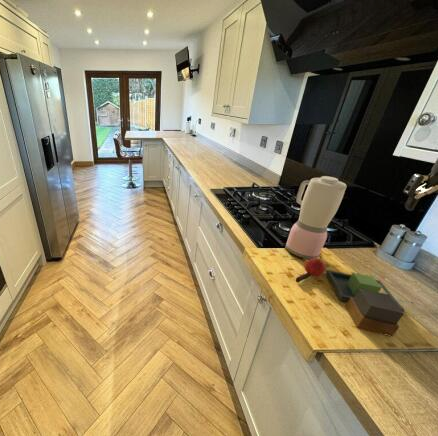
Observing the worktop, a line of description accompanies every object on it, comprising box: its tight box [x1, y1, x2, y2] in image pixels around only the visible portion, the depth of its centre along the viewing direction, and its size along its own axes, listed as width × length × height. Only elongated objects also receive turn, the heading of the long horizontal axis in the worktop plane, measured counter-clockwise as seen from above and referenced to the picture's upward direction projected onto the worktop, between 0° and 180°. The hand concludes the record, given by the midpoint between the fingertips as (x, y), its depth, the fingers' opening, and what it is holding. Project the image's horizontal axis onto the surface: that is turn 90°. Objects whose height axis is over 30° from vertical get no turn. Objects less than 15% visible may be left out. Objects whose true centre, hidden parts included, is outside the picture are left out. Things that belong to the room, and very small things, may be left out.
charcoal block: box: [354, 288, 405, 324], centre depth 65 cm, size 7×7×4 cm
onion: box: [304, 256, 326, 277], centre depth 83 cm, size 6×6×8 cm
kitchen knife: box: [295, 266, 327, 283], centre depth 84 cm, size 18×1×2 cm, turn 117°
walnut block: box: [345, 297, 401, 337], centre depth 66 cm, size 8×8×4 cm
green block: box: [347, 272, 382, 295], centre depth 76 cm, size 6×6×5 cm
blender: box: [284, 175, 348, 261], centre depth 92 cm, size 16×12×32 cm
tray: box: [325, 269, 405, 312], centre depth 77 cm, size 16×14×2 cm
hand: (426, 212), depth 69 cm, fingers open, 8 cm apart
